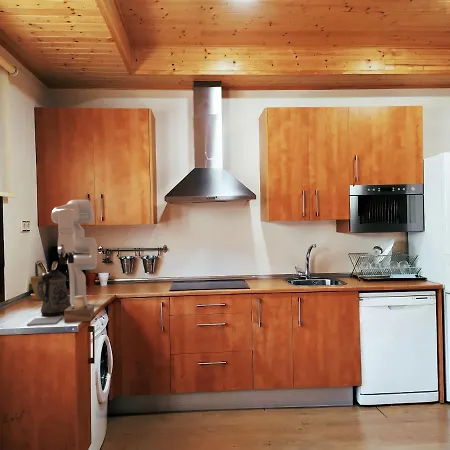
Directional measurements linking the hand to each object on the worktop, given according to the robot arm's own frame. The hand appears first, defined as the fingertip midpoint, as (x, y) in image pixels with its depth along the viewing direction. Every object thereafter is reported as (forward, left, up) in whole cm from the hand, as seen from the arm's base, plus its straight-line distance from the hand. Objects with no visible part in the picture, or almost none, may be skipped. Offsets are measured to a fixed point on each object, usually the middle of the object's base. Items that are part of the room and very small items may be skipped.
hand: (66, 263), depth 237 cm
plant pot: (-71, -31, -30) cm, 83 cm away
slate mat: (+5, -11, -29) cm, 32 cm away
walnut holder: (+3, +6, -29) cm, 30 cm away
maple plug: (+3, +6, -29) cm, 30 cm away
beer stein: (-14, -10, -30) cm, 34 cm away
